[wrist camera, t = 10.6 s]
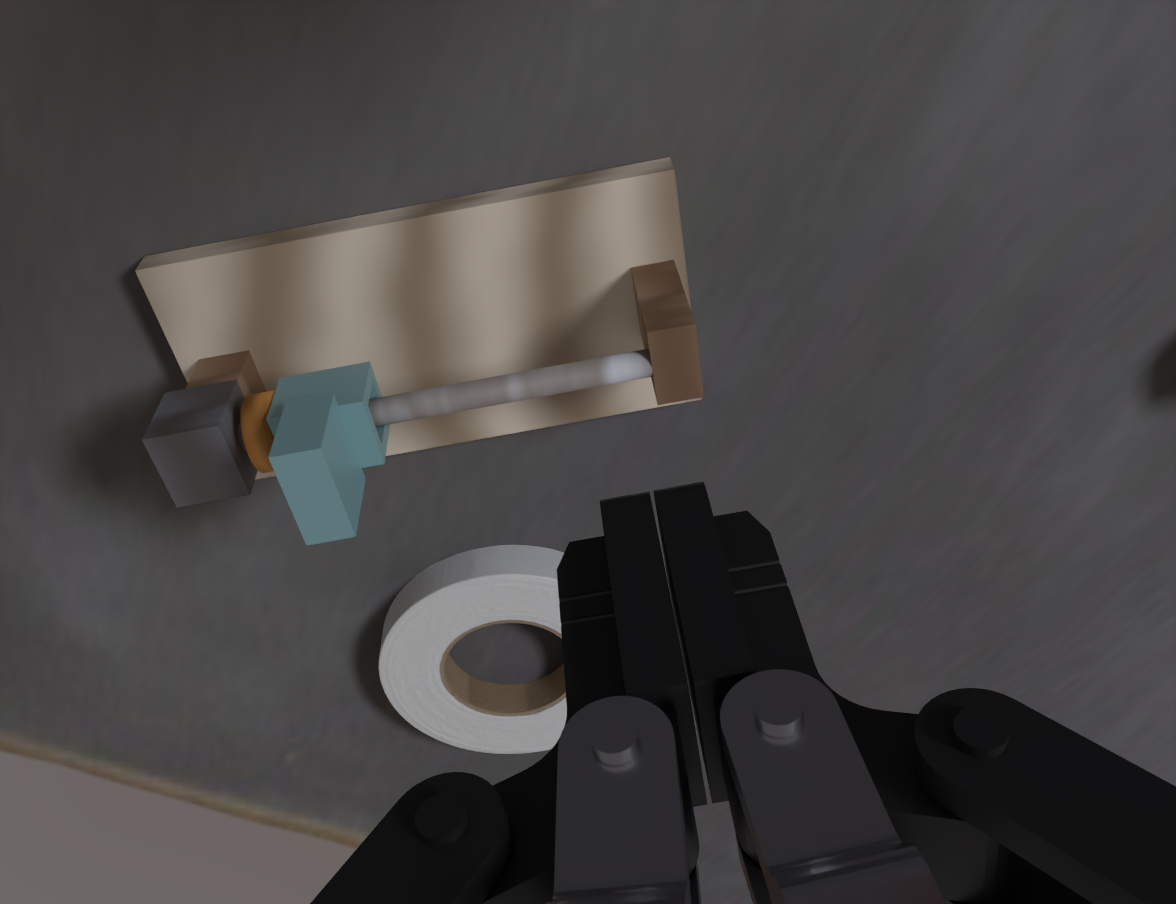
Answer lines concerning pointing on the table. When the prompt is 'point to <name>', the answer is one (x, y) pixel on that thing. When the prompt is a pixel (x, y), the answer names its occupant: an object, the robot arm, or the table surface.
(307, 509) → the teal stepped block
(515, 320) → the cable board
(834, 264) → the table surface
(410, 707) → the roll of tape
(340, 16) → the table surface
